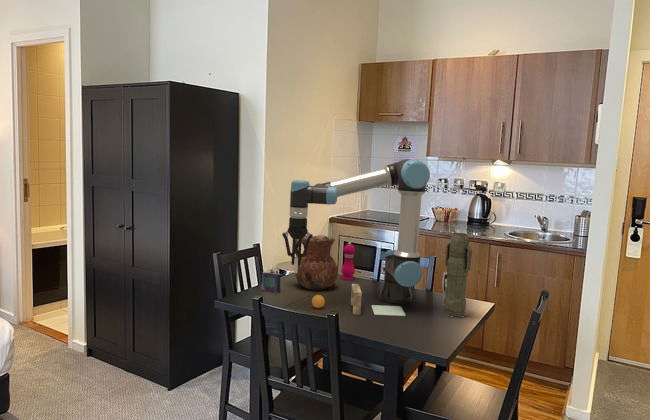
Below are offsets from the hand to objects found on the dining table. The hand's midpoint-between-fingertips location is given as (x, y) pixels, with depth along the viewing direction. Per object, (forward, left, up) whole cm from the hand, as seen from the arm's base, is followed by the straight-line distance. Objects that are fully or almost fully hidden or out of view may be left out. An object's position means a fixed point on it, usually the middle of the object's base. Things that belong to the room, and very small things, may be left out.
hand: (295, 272), depth 221 cm
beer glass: (-69, -11, -15) cm, 72 cm away
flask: (+12, -23, -15) cm, 30 cm away
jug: (-9, -35, -15) cm, 39 cm away
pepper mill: (-26, -53, -15) cm, 61 cm away
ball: (-10, 0, -12) cm, 16 cm away
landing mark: (-40, 0, -15) cm, 43 cm away
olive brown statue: (-68, +2, -15) cm, 70 cm away
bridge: (-26, 0, -15) cm, 30 cm away
